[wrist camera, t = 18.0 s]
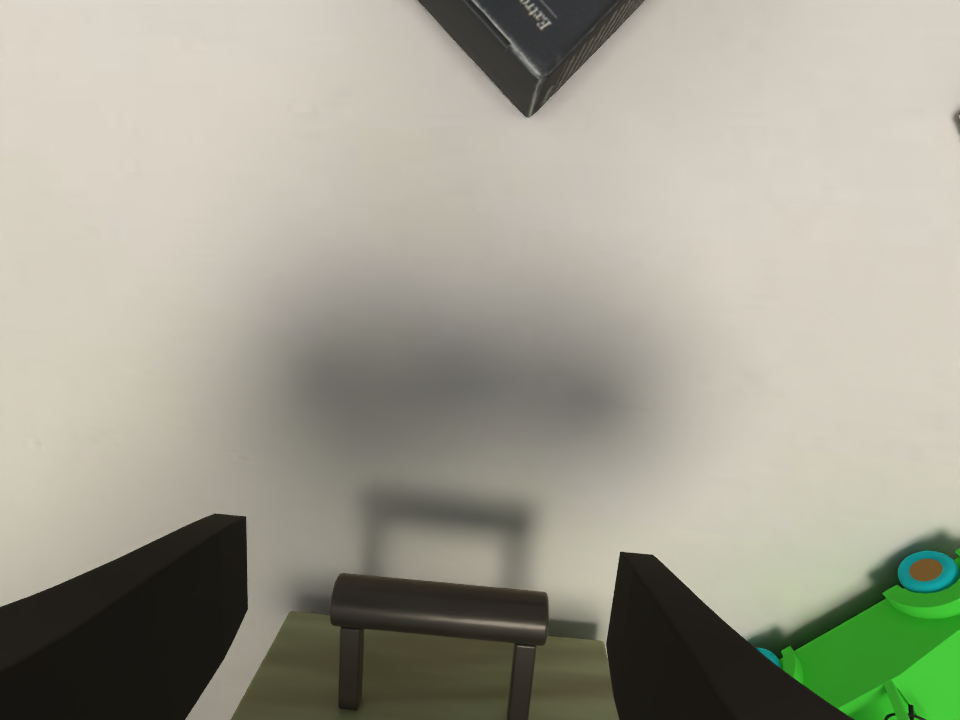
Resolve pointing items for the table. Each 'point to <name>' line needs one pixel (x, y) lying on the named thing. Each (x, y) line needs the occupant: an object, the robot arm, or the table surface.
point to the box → (530, 39)
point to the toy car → (892, 649)
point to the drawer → (428, 658)
